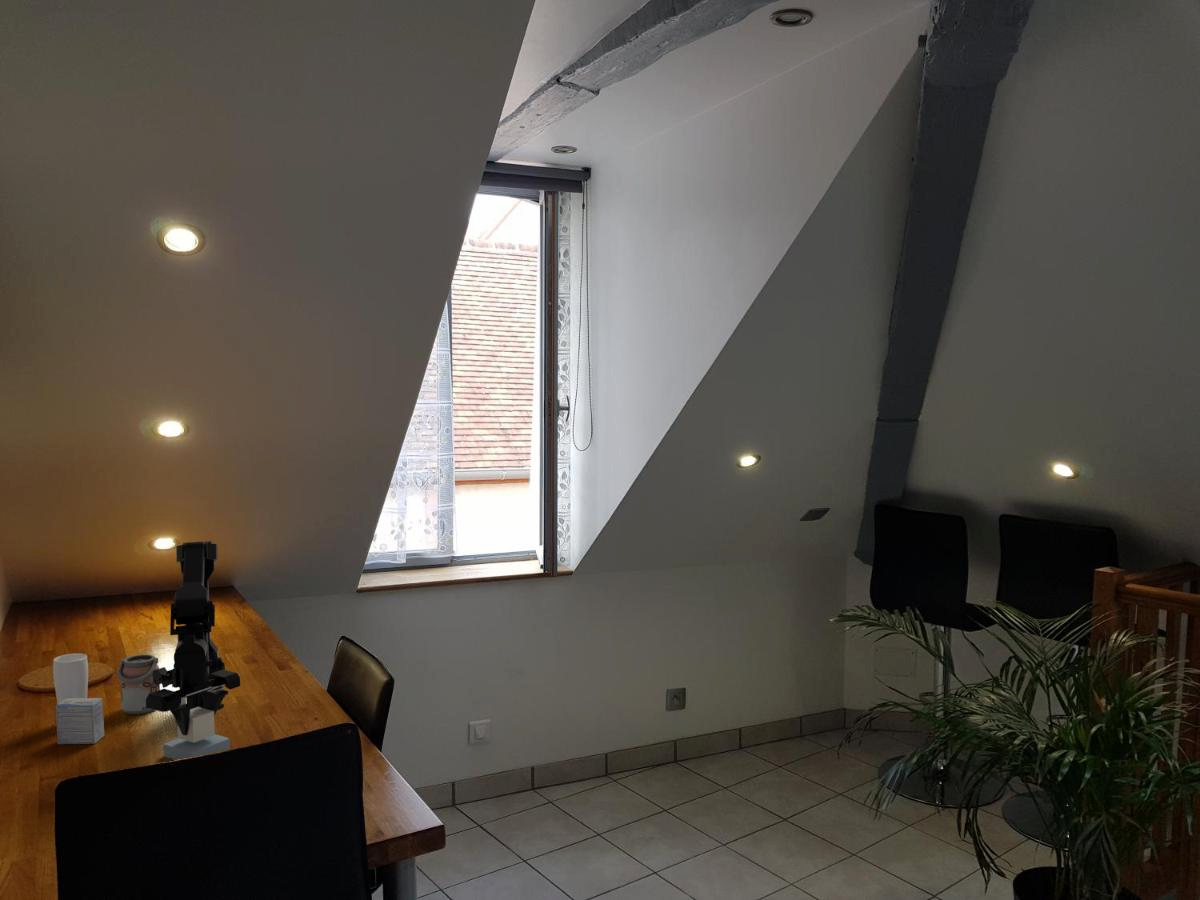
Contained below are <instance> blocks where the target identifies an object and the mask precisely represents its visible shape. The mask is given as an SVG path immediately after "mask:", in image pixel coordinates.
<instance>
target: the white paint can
mask: <svg viewBox="0 0 1200 900" xmlns="http://www.w3.org/2000/svg"><path fill="white" fill-rule="evenodd" d="M158 663H159V657H156V656H155V655H153V654H149V653H147V654H136V655H135V654H134V655H131V656H128V657H126V658H124V657H123V658H122V659H121V660H120V665H119V667H118V669H117V672H116V673H117V675H116V676H117V678H118V679H119V680H120V694H121V695H120V696H121V698H120V699H121V709H122V710H123V712H124V713H126V714H129V715H142V714H147V713H152V712H154V711H155V710H153V709H150V708H146V697H147V696H148V694H149V693H152V692H155V691H158V690H161V684H159V685H155V684H154V681H153V670H156V669H159V668H160V667H159V665H158Z"/></svg>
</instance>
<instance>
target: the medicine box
mask: <svg viewBox="0 0 1200 900" xmlns="http://www.w3.org/2000/svg"><path fill="white" fill-rule="evenodd" d="M103 707H104V705H103V698H102V697H87V698H67V699H65V700H63V701H61V702H60V703H59V704H56V706H55V718H56V719H55V720H56V733H57V744H58V745H80V744H81V745H82V744H83V745H84V744H85V745H91V744H94V745H95V744H96V743H98V742H99V741H100V740H102V739H103V737H105V724H104V708H103Z"/></svg>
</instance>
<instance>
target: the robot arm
mask: <svg viewBox="0 0 1200 900" xmlns="http://www.w3.org/2000/svg"><path fill="white" fill-rule="evenodd" d="M175 549H176V551H175V552H176V553H175V554H176V563H177V564H180V572H181V574H182V584H181V587H180V588H179V589H177V590H176V591H175V592H174V602H171V603H170V625H169V627H170V630H169V635H170V636H177V644H176V646H175V650H174V653H173V661H174V663H173V668H172V669H168V670H167V668H166V667H165V666H164V667H163V666H162V667H159V669H156V670H153V681H154V684H155V685H159V684H160V685H161V687H162V689H161V688H160V690H158V691H155V692H152V693H149V694H148V696H147V697H146V708H150V709H153V710H154V711H158V712H160V713H166V712H170V713H171V714H172V716H173V718H174V720H175V722H176V724H178V726H179V728H180V731H181V733H182V735H185V736H186V735H187V733H188V728H189V718H190V709H193V708H196V707H200V708H204V709H208V710H211V711H214V717H215V716H216V714H217V712H218V710H219V709H221V708H223V707H225V704H224V703H222V702H223V700H224V699H225V697H226V695H229V691H228V690H233V689H236V688H240V687H241V686H242V685H241V683H242V682H241V681H242V679H241V677H240V674H239V673H238V672H235V671H230V670H226V664H225V662H224V661H223V659H222V657H220V656H219V648H218V646H217V645H216V644H215V643H214V641H213V640H212V638H211V633H212V630H213V627H216V626H215V625H216V605H215V604H214V603H213V602H214V601H213V600H212V599H210V588H209V580H210V578H211V576H212V575H213V573H214V571H215V567H216V562H218V560H219V556H218V555H219V553H218V552H219V551H218V550H219V549H218V544H217V543H213V542H212V540H208V541H207V540H206V541H205V540H204V541H202V540H201V541H189V542H188V541H187V542H183V543H182V544H180V545H176V548H175ZM169 686H172V687H171V688H176V689H177V688H179V689H177V690H170V689H167V687H169ZM225 688H226V689H228V690H225Z"/></svg>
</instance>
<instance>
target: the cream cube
mask: <svg viewBox="0 0 1200 900" xmlns="http://www.w3.org/2000/svg"><path fill="white" fill-rule="evenodd" d="M176 724H177V723H176ZM176 726H177V739H178V738H180V739H183V740H186V741H190V742H193V743H195V742H197V741H200V740H202V739H205V738H208V737H210V736H213V735H215V734H216V732H215V716H214V711H211V710H208V709H204V708H200V707H196V708H193V709H190V718H189V728H188V733H187V735H186V736H185V735H182V733H181V731H180V728H179V726H178V724H177V725H176Z"/></svg>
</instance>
